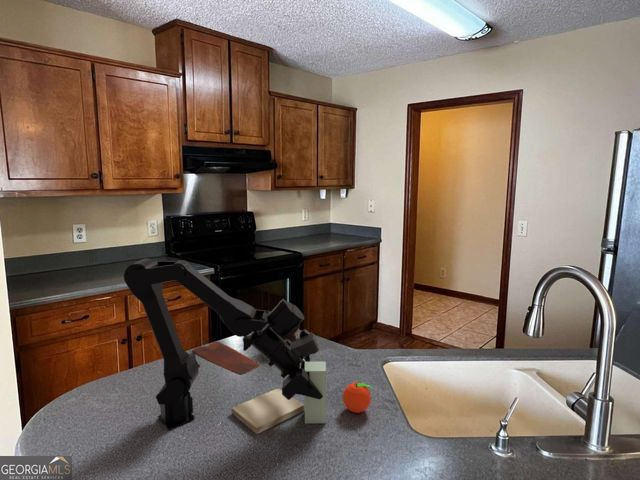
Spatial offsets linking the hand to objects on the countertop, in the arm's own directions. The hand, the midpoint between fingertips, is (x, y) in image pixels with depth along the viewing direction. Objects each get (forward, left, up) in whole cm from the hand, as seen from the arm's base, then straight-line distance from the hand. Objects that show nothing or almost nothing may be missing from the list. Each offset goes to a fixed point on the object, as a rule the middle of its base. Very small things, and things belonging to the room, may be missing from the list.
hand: (321, 391), depth 97 cm
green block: (-1, +1, -7) cm, 7 cm away
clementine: (+9, -4, -7) cm, 12 cm away
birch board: (-8, +10, -7) cm, 15 cm away
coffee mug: (+21, +38, -7) cm, 44 cm away
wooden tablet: (0, +45, -7) cm, 46 cm away
